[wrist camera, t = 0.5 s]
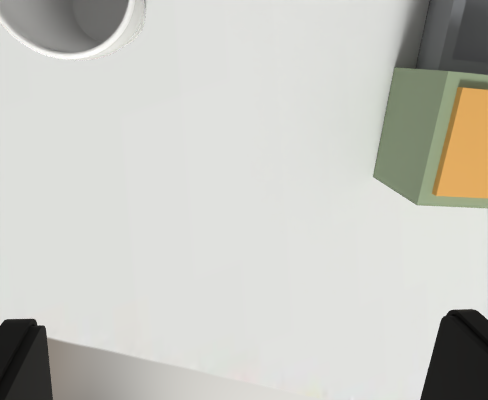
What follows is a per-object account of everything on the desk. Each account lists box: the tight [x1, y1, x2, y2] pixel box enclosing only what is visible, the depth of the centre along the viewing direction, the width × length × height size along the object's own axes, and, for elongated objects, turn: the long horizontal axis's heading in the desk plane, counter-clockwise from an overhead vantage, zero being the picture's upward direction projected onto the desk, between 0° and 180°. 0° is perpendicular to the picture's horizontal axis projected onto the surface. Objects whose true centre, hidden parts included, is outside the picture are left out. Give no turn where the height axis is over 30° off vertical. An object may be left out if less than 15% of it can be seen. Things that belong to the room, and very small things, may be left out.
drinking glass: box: [0, 0, 146, 60], centre depth 26 cm, size 7×7×15 cm
